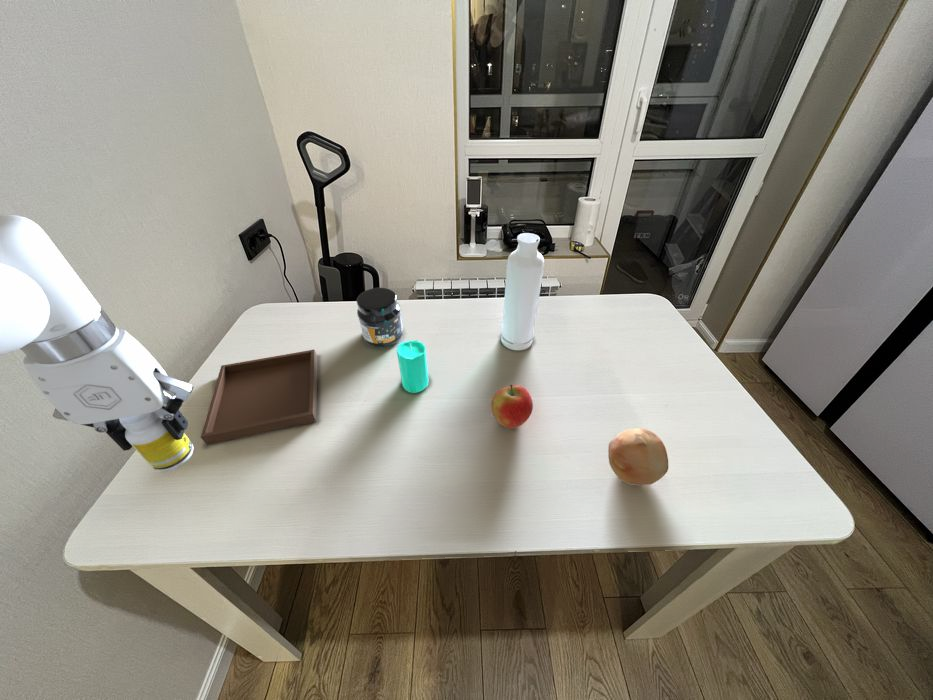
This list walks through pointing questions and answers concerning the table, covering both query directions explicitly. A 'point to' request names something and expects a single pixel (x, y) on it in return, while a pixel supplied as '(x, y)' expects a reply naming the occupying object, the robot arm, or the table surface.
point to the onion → (638, 456)
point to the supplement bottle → (156, 442)
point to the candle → (413, 365)
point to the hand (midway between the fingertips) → (156, 436)
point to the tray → (262, 397)
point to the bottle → (522, 292)
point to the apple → (512, 406)
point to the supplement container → (379, 317)
